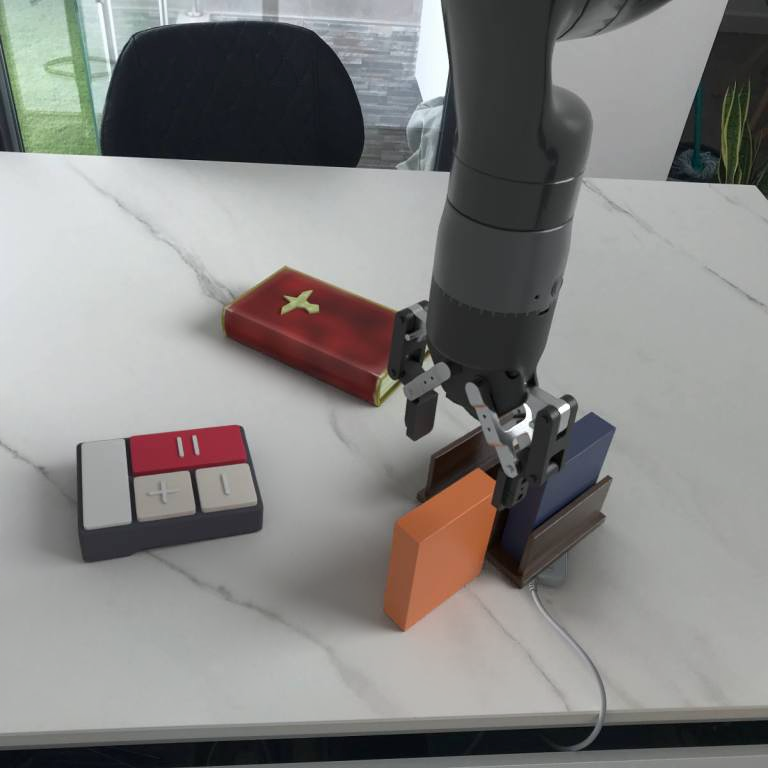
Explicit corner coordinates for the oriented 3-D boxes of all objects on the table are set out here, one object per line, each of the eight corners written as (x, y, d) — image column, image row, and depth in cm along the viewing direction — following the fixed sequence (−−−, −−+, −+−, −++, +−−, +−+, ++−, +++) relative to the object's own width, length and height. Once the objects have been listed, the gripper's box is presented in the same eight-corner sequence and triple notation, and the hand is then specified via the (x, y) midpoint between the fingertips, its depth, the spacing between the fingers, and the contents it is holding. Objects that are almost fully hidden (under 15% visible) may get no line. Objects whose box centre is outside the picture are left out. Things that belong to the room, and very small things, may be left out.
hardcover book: (376, 409, 82) (379, 378, 79) (222, 337, 90) (220, 307, 87) (430, 353, 90) (435, 324, 88) (285, 292, 98) (285, 263, 95)
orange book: (480, 574, 67) (503, 486, 60) (404, 632, 62) (419, 544, 55) (458, 554, 68) (478, 467, 61) (382, 610, 63) (394, 521, 56)
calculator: (264, 502, 66) (76, 529, 61) (263, 535, 69) (82, 564, 64) (243, 418, 74) (74, 436, 69) (242, 450, 77) (80, 470, 72)
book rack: (604, 521, 72) (621, 479, 69) (521, 589, 66) (535, 545, 62) (500, 444, 79) (511, 401, 76) (416, 498, 73) (423, 454, 69)
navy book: (584, 514, 72) (616, 427, 65) (521, 563, 67) (549, 475, 60) (562, 498, 73) (591, 411, 66) (499, 544, 68) (523, 456, 61)
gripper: (369, 240, 47) (356, 435, 57) (551, 355, 39) (499, 556, 50) (455, 209, 51) (428, 395, 61) (635, 307, 43) (571, 502, 54)
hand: (460, 467), depth 56 cm, fingers open, 8 cm apart
